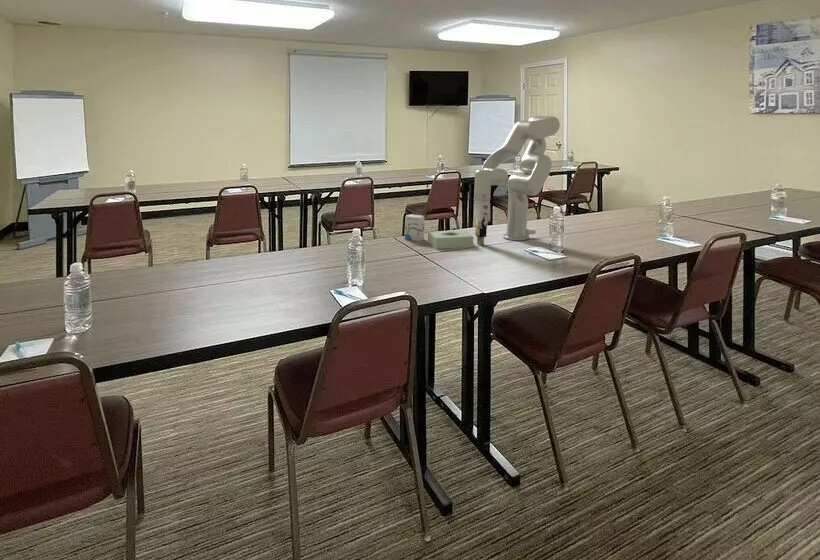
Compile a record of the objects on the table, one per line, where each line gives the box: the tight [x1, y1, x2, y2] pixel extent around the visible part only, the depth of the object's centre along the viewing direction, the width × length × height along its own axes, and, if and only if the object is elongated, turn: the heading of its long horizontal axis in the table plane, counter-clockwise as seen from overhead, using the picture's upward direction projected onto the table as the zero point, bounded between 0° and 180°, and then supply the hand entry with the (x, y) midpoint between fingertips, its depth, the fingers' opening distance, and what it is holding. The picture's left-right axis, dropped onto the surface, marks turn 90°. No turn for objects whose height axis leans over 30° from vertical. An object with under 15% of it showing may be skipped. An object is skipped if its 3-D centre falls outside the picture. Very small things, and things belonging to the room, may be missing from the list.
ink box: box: [404, 213, 426, 242], centre depth 267 cm, size 9×5×12 cm, turn 62°
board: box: [427, 229, 474, 250], centre depth 258 cm, size 18×14×5 cm
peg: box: [475, 219, 485, 246], centre depth 257 cm, size 5×5×12 cm
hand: (480, 235), depth 257 cm, fingers closed on peg, 4 cm apart
